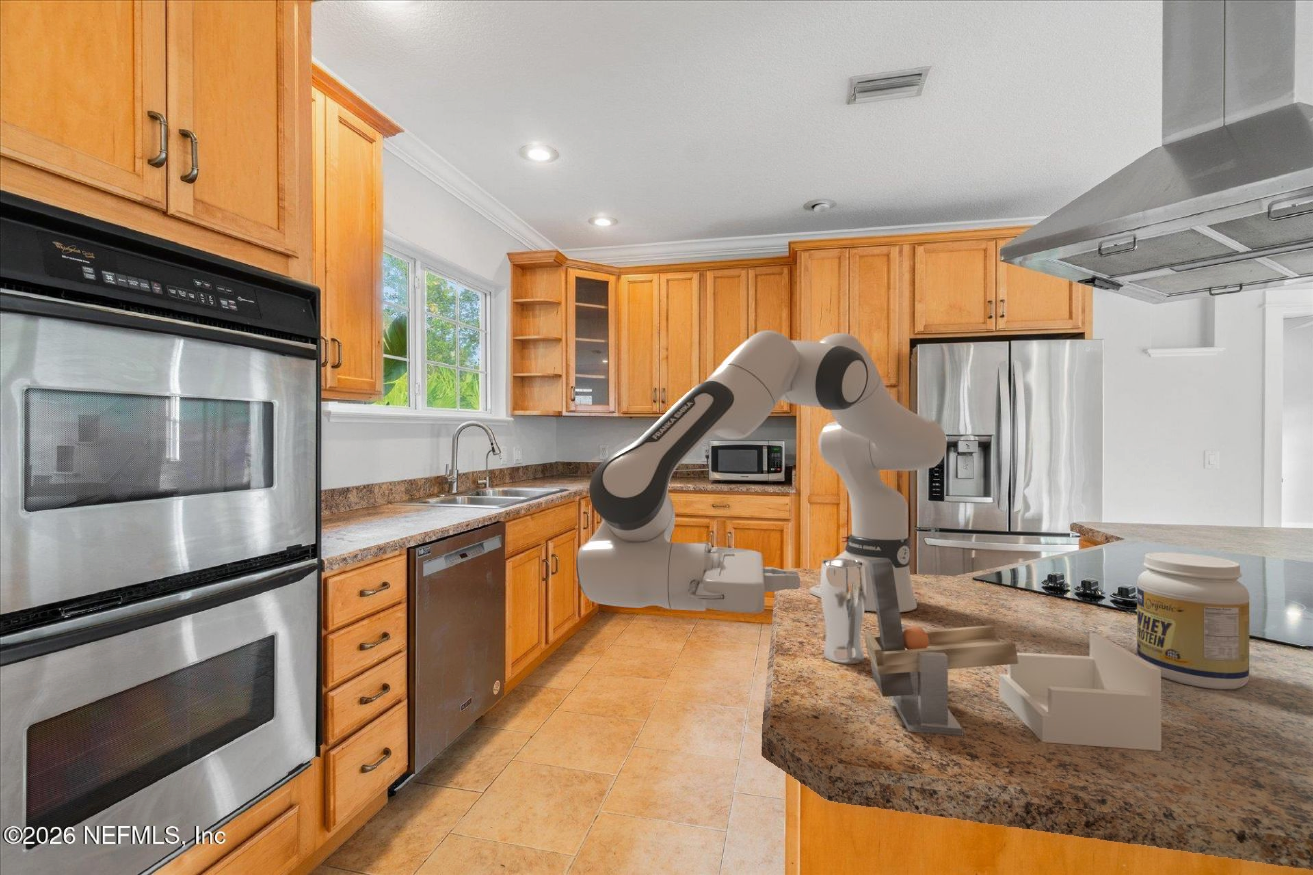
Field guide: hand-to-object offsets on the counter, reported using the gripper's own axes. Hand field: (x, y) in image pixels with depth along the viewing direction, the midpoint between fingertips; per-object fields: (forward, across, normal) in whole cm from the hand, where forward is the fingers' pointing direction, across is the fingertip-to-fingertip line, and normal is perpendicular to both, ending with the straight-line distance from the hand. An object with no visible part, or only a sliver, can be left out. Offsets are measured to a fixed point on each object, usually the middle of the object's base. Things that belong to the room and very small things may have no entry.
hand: (799, 579), depth 77 cm
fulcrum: (+15, 0, +16) cm, 22 cm away
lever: (+18, 0, +12) cm, 21 cm away
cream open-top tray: (+32, 0, +16) cm, 36 cm away
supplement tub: (+57, +18, +16) cm, 62 cm away
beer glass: (+8, +18, +16) cm, 25 cm away
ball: (+14, 0, +7) cm, 16 cm away
